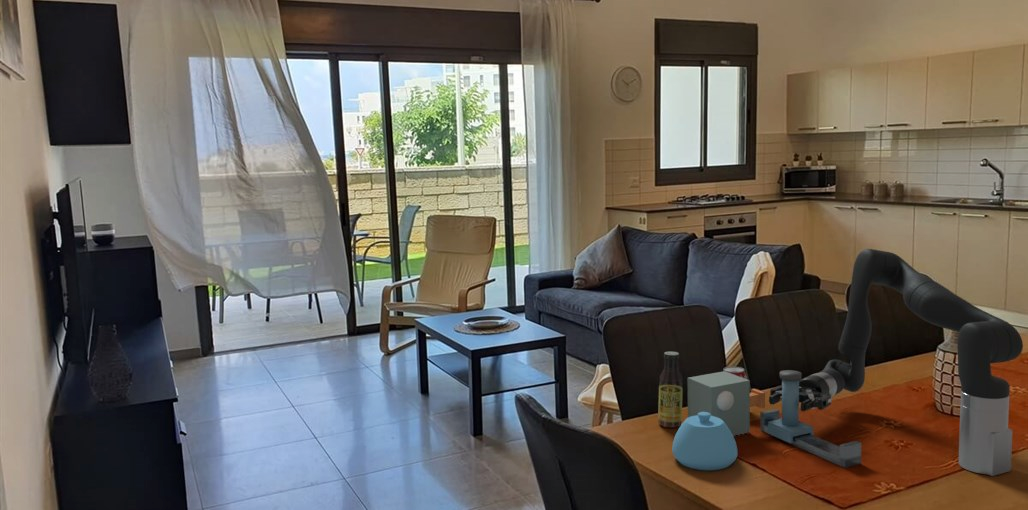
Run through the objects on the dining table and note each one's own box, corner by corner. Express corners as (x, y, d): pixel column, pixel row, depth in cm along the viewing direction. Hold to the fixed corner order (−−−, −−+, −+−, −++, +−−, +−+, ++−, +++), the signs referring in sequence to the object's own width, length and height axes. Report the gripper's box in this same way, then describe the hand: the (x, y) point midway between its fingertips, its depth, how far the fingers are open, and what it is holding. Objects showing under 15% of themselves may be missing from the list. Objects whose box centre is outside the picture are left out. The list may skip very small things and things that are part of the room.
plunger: (764, 407, 203) (764, 392, 202) (739, 412, 200) (739, 397, 199) (754, 403, 207) (754, 388, 206) (729, 408, 203) (729, 393, 203)
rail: (860, 463, 179) (861, 442, 179) (844, 467, 177) (845, 446, 177) (775, 427, 205) (775, 408, 204) (760, 430, 203) (760, 412, 202)
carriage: (813, 437, 194) (813, 374, 192) (790, 443, 191) (790, 379, 189) (790, 428, 202) (790, 367, 200) (767, 433, 199) (767, 371, 197)
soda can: (744, 406, 223) (744, 365, 221) (749, 414, 216) (749, 372, 214) (719, 406, 223) (718, 365, 222) (723, 414, 216) (723, 372, 215)
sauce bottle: (657, 428, 208) (656, 355, 205) (659, 420, 214) (657, 349, 211) (682, 429, 206) (681, 356, 204) (683, 421, 212) (682, 350, 210)
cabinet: (751, 433, 201) (751, 380, 199) (713, 441, 196) (712, 388, 195) (724, 421, 211) (724, 371, 209) (688, 429, 206) (687, 377, 204)
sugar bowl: (660, 454, 190) (659, 408, 188) (712, 444, 195) (712, 399, 193) (695, 477, 176) (694, 428, 174) (750, 466, 181) (750, 417, 179)
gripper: (790, 370, 210) (760, 384, 199) (843, 380, 200) (814, 395, 189) (790, 397, 211) (760, 412, 200) (843, 408, 201) (813, 424, 189)
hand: (786, 404), depth 194 cm, fingers open, 8 cm apart
